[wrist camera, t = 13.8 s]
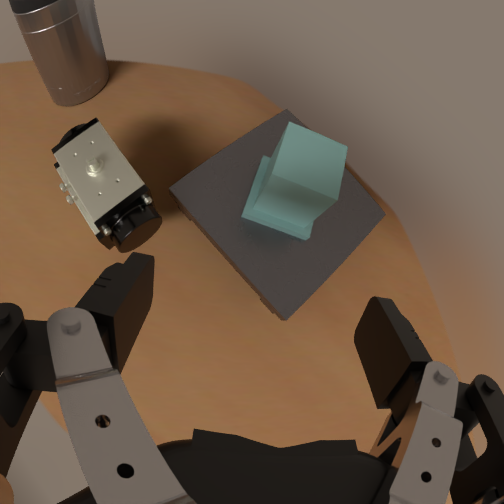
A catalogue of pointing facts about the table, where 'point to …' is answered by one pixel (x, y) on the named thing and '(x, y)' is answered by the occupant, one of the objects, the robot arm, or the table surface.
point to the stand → (266, 238)
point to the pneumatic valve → (105, 188)
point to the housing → (296, 182)
